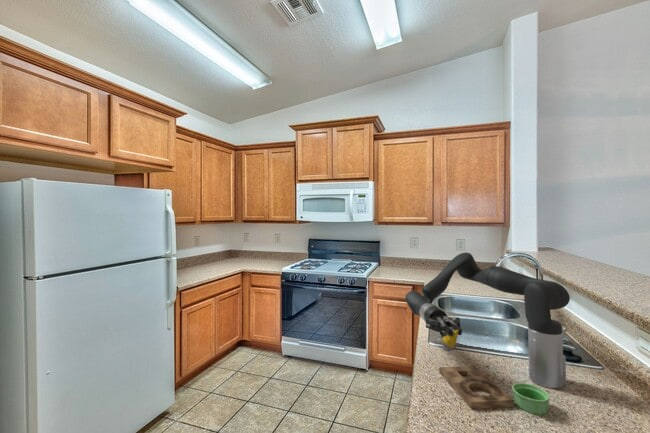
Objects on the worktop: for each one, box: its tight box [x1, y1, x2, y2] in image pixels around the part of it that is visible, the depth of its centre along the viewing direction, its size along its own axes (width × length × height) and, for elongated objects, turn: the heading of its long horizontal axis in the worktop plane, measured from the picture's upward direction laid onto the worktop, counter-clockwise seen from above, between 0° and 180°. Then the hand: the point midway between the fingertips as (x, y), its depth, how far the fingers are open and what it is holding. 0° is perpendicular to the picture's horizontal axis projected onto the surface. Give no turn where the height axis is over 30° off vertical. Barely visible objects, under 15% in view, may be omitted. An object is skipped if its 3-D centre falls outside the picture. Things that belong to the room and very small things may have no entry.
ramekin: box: [512, 382, 551, 416], centre depth 86 cm, size 9×9×4 cm
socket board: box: [438, 365, 515, 410], centre depth 95 cm, size 13×20×2 cm, turn 4°
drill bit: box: [439, 330, 459, 353], centre depth 102 cm, size 5×5×10 cm
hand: (456, 332), depth 99 cm, fingers closed on drill bit, 2 cm apart
